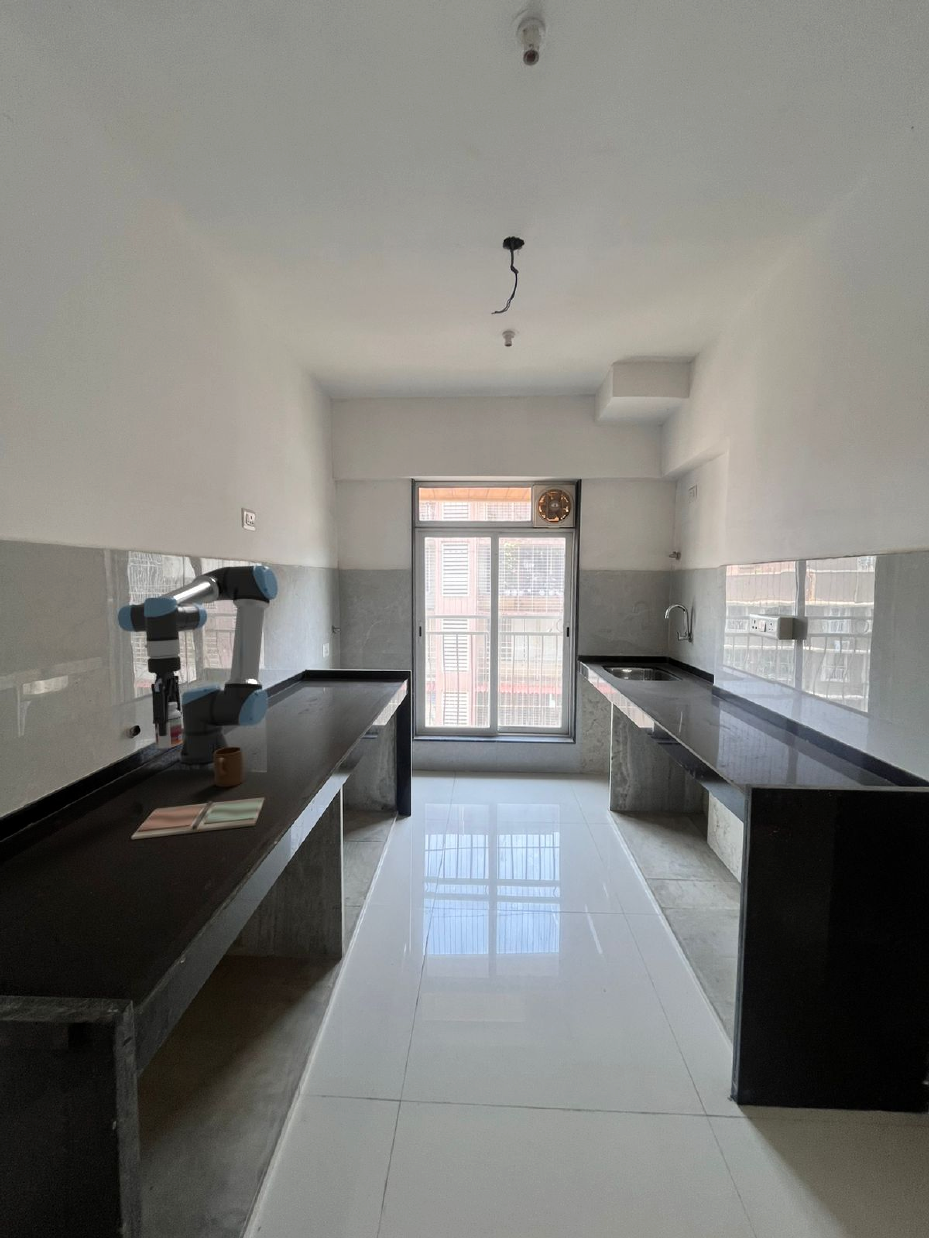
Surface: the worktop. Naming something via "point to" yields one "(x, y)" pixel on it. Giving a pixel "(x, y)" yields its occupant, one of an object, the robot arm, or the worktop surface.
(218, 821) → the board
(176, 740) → the pill bottle
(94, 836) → the worktop surface
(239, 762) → the mug
